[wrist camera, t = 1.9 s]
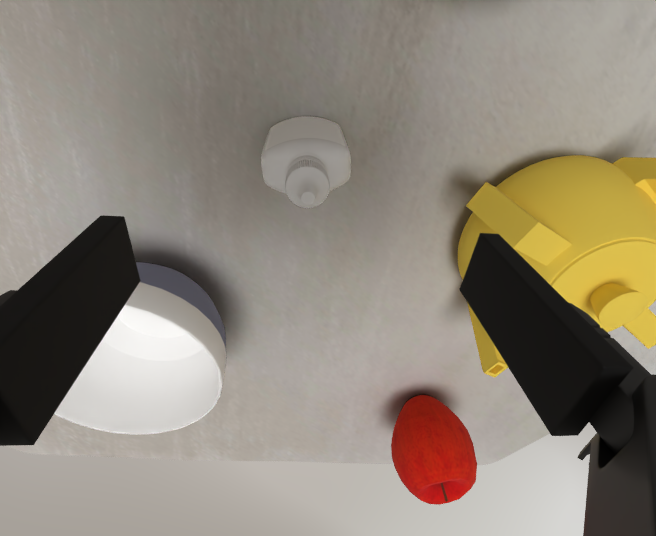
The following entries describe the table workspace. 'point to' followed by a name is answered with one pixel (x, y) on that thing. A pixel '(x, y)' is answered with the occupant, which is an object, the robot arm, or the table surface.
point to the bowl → (153, 360)
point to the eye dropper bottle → (306, 159)
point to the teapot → (576, 238)
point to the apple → (433, 451)
